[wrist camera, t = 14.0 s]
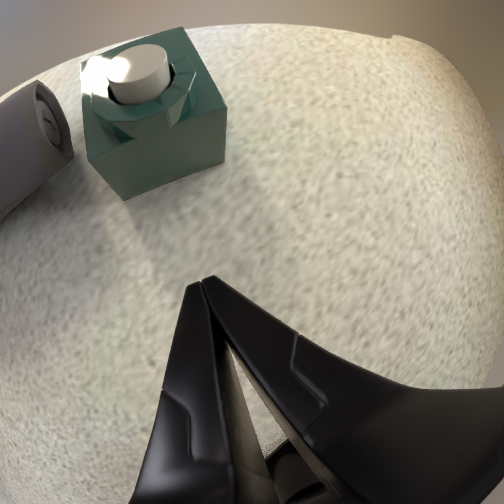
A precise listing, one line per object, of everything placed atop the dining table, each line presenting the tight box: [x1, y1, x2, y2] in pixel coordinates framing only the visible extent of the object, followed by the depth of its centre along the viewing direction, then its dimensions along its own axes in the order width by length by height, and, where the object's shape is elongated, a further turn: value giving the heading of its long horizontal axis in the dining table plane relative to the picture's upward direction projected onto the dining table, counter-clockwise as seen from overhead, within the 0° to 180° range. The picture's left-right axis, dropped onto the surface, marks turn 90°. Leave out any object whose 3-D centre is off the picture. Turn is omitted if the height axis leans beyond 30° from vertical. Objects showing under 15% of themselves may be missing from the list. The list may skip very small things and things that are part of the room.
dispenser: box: [81, 27, 227, 201], centre depth 18 cm, size 11×9×9 cm
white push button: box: [105, 44, 171, 105], centre depth 12 cm, size 4×4×2 cm
